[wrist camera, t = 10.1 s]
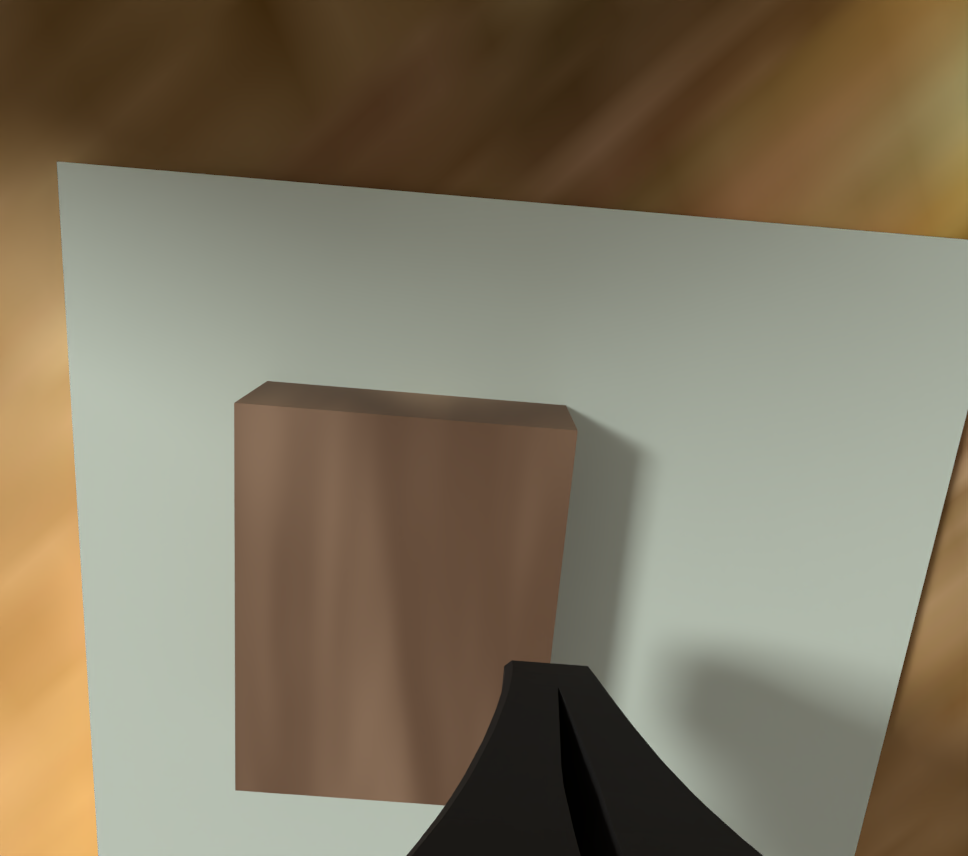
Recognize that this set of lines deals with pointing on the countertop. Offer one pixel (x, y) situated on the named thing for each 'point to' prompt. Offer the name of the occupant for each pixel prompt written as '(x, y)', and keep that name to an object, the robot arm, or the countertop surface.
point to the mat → (595, 481)
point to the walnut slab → (387, 581)
